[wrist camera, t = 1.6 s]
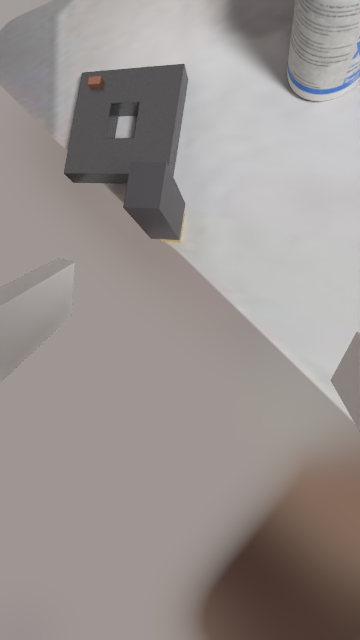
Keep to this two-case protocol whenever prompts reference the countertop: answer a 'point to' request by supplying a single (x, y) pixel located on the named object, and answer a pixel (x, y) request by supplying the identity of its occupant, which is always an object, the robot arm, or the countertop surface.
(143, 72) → the socket plate
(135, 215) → the plug
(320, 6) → the supplement tub
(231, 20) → the countertop surface
